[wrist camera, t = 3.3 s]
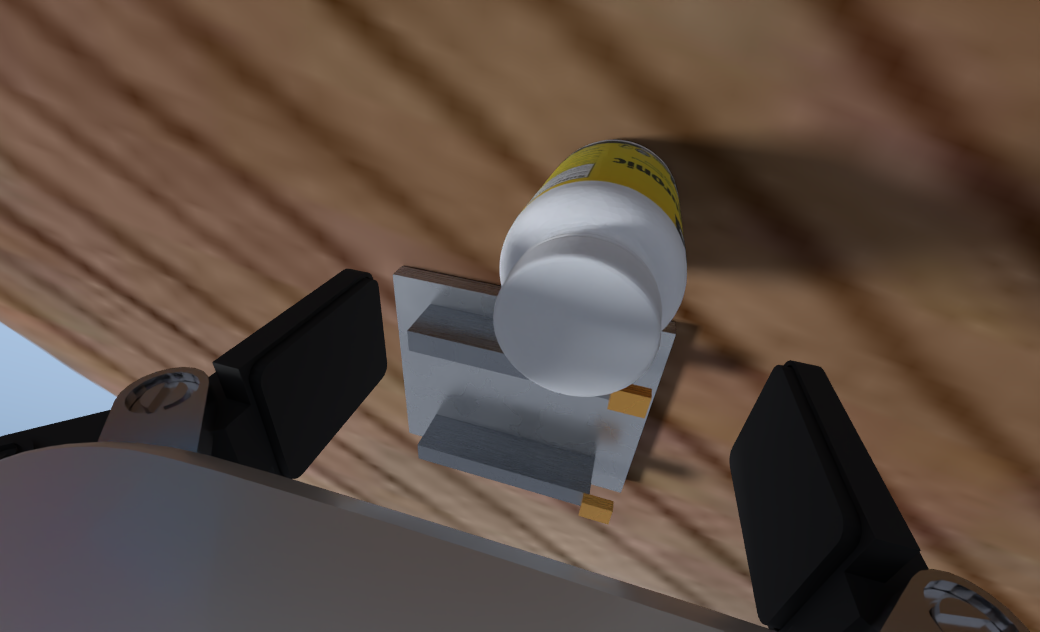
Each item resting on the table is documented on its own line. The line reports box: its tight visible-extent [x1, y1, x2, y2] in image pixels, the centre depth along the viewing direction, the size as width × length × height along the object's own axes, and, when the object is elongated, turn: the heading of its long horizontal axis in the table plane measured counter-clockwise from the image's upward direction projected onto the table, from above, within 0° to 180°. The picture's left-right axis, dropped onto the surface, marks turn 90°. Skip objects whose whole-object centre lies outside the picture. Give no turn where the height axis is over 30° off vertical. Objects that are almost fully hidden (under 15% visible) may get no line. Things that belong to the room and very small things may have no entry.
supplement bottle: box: [493, 140, 687, 397], centre depth 14 cm, size 5×5×10 cm
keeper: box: [393, 266, 676, 524], centre depth 23 cm, size 14×12×4 cm
